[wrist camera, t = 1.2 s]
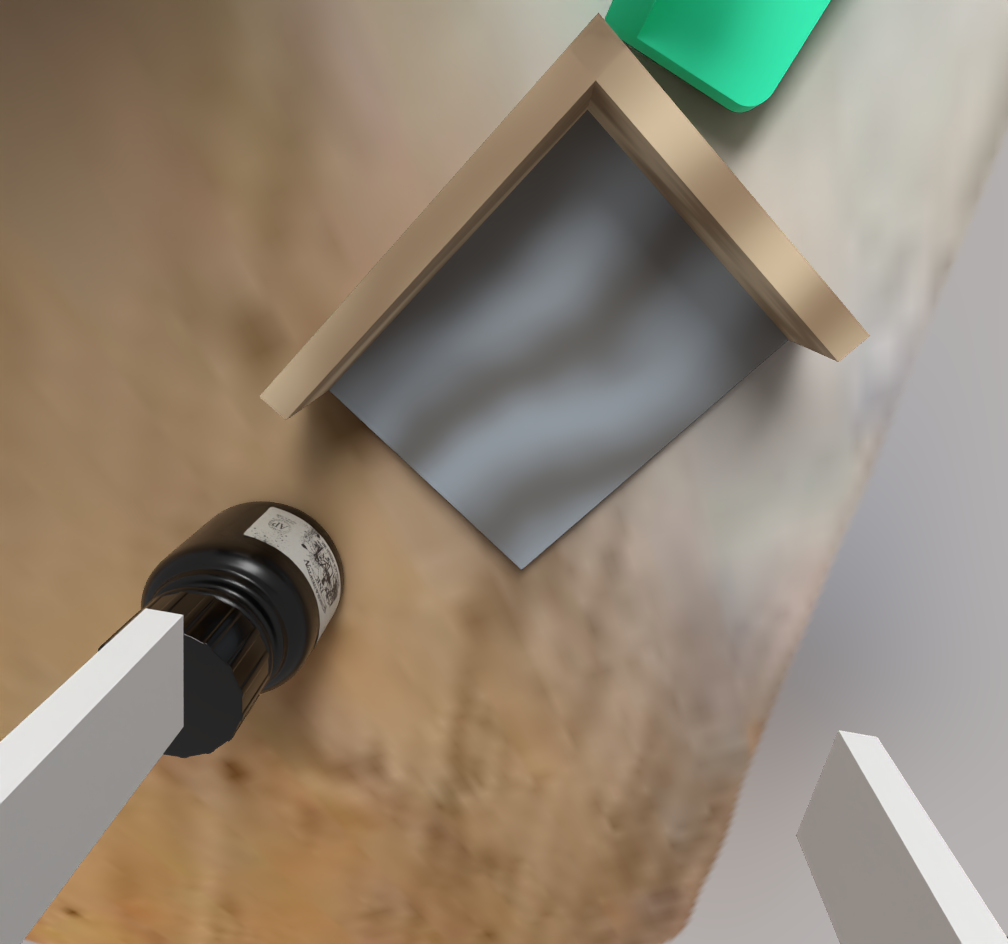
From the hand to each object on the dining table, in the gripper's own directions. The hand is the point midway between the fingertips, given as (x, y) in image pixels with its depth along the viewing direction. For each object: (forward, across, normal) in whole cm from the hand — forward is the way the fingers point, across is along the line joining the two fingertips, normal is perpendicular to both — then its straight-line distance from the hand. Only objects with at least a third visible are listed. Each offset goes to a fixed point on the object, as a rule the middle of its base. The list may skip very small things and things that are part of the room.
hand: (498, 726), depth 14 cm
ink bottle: (+24, -14, -12) cm, 30 cm away
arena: (+24, 0, +4) cm, 25 cm away
